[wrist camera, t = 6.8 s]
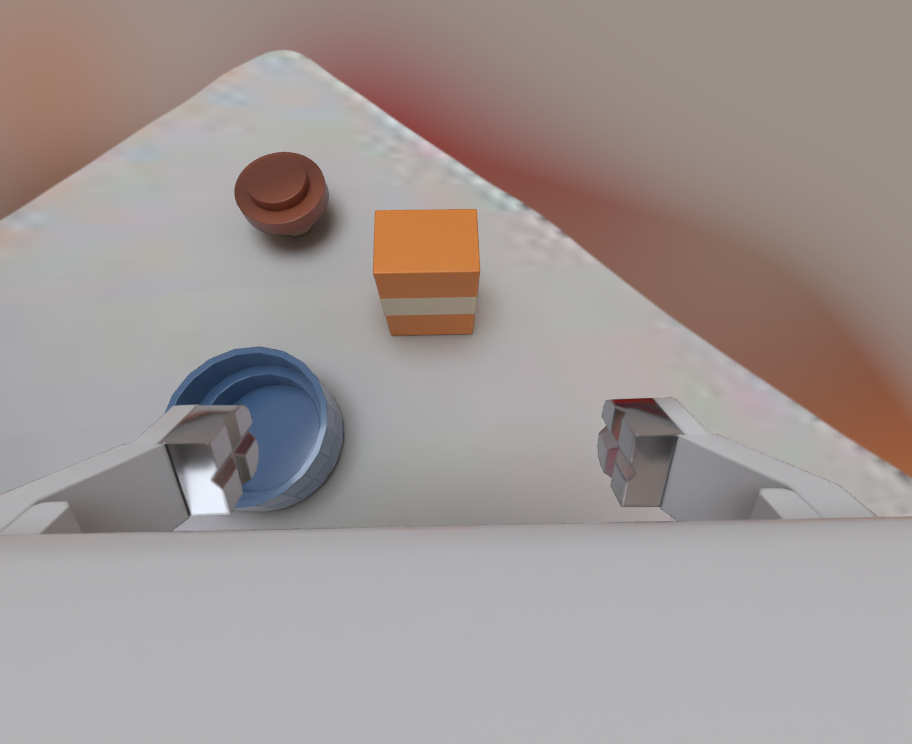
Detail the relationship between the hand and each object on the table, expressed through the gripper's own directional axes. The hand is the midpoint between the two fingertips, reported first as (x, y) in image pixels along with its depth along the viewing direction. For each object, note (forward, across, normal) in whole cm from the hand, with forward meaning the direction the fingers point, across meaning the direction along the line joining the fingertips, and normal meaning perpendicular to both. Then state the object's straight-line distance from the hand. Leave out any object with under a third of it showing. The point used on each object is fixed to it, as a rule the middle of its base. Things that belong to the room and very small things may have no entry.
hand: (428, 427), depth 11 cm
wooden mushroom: (+27, +11, -1) cm, 29 cm away
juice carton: (+22, +1, +4) cm, 22 cm away
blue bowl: (+15, +10, +10) cm, 21 cm away
